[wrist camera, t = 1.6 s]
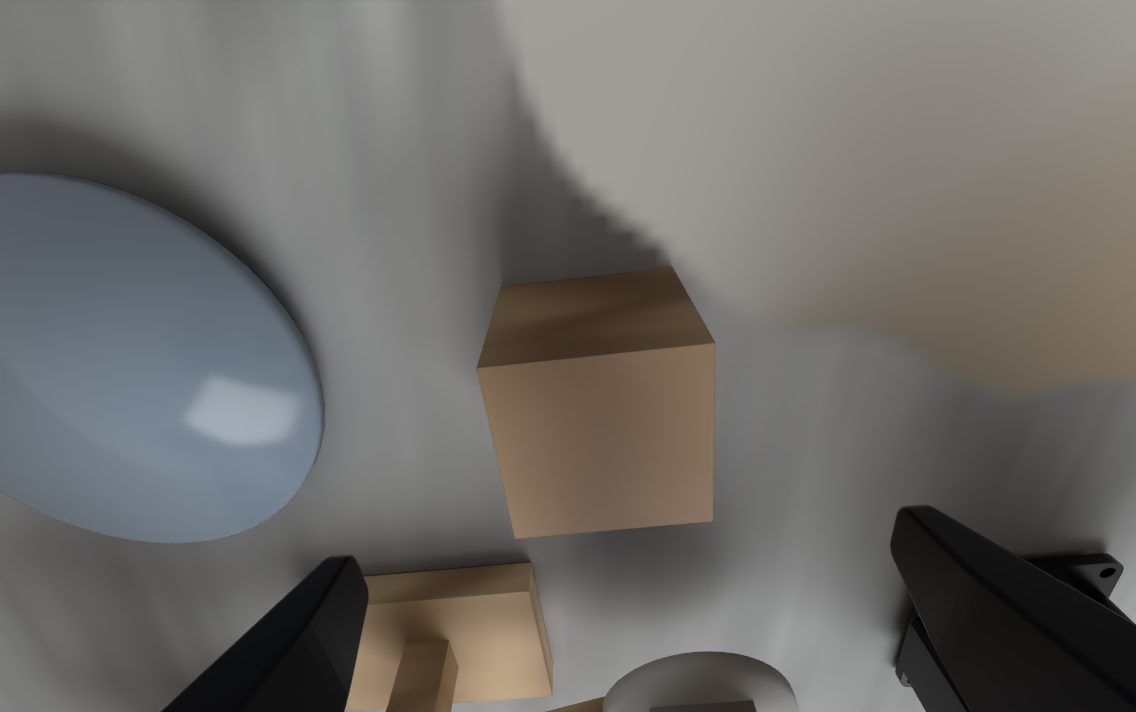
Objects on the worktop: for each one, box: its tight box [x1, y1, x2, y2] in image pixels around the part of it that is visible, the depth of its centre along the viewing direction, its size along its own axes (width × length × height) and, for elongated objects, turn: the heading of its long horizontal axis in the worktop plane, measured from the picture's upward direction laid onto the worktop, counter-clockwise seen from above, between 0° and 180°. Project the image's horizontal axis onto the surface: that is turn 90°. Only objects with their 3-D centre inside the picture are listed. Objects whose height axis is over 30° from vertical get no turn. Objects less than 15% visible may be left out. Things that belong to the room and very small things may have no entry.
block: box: [476, 268, 715, 539], centre depth 13 cm, size 4×4×4 cm
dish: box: [0, 172, 325, 543], centre depth 14 cm, size 11×11×1 cm
